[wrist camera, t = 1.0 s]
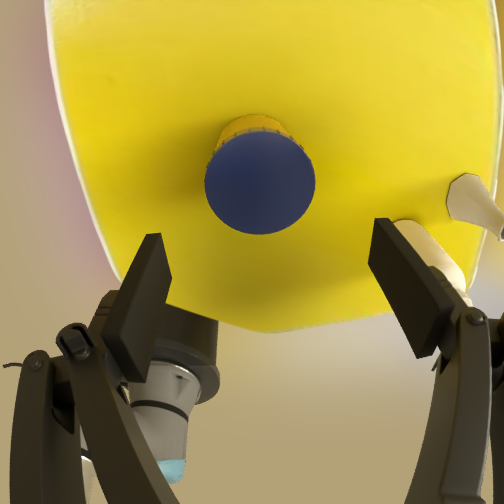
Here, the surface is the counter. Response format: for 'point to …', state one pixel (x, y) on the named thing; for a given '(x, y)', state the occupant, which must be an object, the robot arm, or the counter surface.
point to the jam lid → (259, 181)
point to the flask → (475, 205)
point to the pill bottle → (433, 254)
